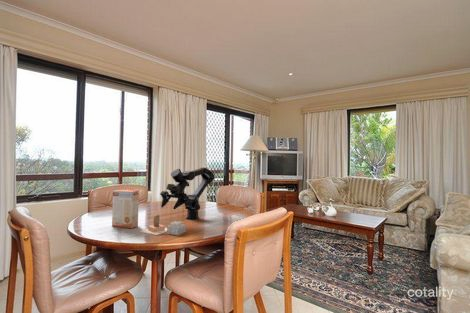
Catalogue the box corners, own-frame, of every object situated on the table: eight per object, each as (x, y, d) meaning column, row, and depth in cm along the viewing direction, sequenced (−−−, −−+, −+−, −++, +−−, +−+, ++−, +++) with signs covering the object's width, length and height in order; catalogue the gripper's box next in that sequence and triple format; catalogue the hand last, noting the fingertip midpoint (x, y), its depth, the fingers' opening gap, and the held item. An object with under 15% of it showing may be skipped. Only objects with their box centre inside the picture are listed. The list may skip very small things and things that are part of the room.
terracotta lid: (147, 229, 138) (148, 214, 138) (158, 227, 142) (159, 213, 142) (153, 232, 133) (153, 217, 133) (164, 230, 138) (165, 215, 138)
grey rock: (166, 233, 133) (167, 223, 133) (175, 230, 139) (175, 220, 139) (177, 235, 130) (178, 224, 130) (185, 231, 136) (185, 221, 136)
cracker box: (138, 226, 146) (139, 190, 146) (131, 228, 140) (132, 191, 140) (119, 223, 150) (120, 189, 151) (111, 226, 145) (112, 190, 145)
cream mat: (139, 232, 134) (139, 231, 134) (155, 226, 145) (155, 226, 145) (157, 235, 130) (157, 234, 130) (171, 229, 141) (172, 228, 141)
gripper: (162, 178, 155) (148, 198, 145) (186, 179, 146) (173, 201, 136) (171, 189, 162) (158, 209, 152) (194, 191, 153) (182, 213, 143)
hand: (167, 208), depth 146 cm, fingers open, 9 cm apart
